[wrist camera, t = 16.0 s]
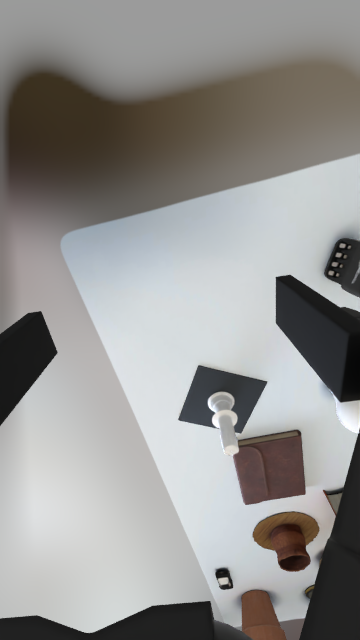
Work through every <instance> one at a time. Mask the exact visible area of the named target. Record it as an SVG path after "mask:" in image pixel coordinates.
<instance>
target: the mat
mask: <svg viewBox="0 0 360 640" xmlns="http://www.w3.org/2000/svg"><path fill="white" fill-rule="evenodd" d="M266 384H267V382H266V381H261V380H257V379H253V378H249V377H245V376H240V375H236V374H232V373H228V372H224V371H219V370H215V369H211V368H207V367H203V366H198V368H197V371H196V374H195V376H194V379H193V382H192V384H191V387H190V390H189V392H188V395H187V398H186V401H185V403H184V406H183V409H182V411H181V414H180V417H179V419H178V420H180V421H184V422H189V423H194V424H198V425H203V426H208V427H213V428H217V427H216V426H214V424H213V423H212V418H213V416H214V414H215V412H214V411H212V410H211V409H210V408H209V406H208V399H209V398H210V396H211V395H213V394H214V393H217V392H227V393H229V394H231V395H232V396H233V398H234V405H233V407H232V409H231V411H233V412H234V413H235V414H236V415H237V418H238V419H237V423H236V424H235V425H234V430H235V432H236V433H242V431H243V429H244V427H245V425H246V423H247V421H248V419H249V417H250V415H251V413H252V411H253V409H254V407H255V405H256V403H257V401H258V399H259V398H260V396H261V394H262V392H263V390H264V388H265V386H266ZM217 429H219V428H217Z"/></svg>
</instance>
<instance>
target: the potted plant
mask: <svg viewBox="0 0 360 640" xmlns="http://www.w3.org/2000/svg"><path fill="white" fill-rule="evenodd" d="M242 632H244V633H245V634H246V635H248V636H249V637H251V638H252V639H253V640H286V636H285V633H284V630H282V629H281V627H280V624H279V622H278V619H277V616H276V614H275V611H274V608H273V606H272V603H271V600H270V598H269V595H268V594H267V593H266V592H264V591H261V590H253V591H249V592H246V593H245V594H244V595H243V596H242Z"/></svg>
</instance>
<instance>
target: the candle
mask: <svg viewBox="0 0 360 640" xmlns="http://www.w3.org/2000/svg"><path fill="white" fill-rule="evenodd" d="M233 405H234V398H233V396H232V395H231V394H229V393H227V392H217V393H214V394H213V395H211V396H210V398H209V399H208V406H209V408H210V409H211V410H212V411H214V412H215V414H214V416H213V418H212V423H213V424H214V426H216V427H217V428H219V429H220V435H221V438H220V441H221V444H222V448H223V452H224V453H225V454H227V455H229V456H232V455H234V454H236V453H238V452H239V448H238V440H237V437H236V435H235V430H234V425H235V424H236V423H237V419H238V418H237V415H236V414H235V413H234V412H233V411H231V409H232V407H233Z"/></svg>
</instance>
